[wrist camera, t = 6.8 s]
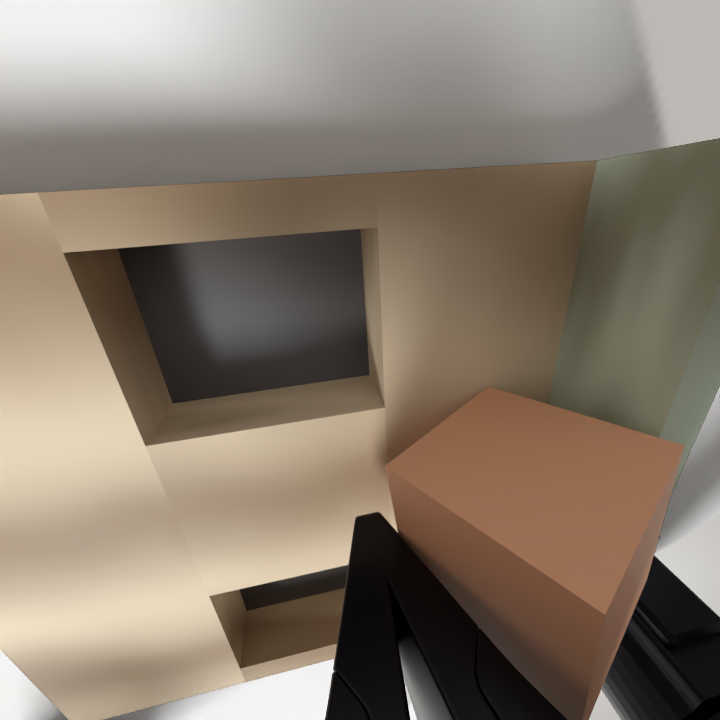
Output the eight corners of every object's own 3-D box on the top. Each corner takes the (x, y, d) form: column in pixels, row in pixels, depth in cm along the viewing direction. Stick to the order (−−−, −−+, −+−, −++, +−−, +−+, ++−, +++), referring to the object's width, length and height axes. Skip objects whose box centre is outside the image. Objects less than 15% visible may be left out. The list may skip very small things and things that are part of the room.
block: (490, 491, 11) (647, 578, 8) (407, 581, 9) (576, 748, 6) (488, 386, 9) (685, 446, 6) (385, 465, 7) (605, 616, 4)
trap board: (496, 556, 17) (580, 698, 12) (108, 648, 14) (11, 877, 9) (558, 171, 9) (837, 125, 5) (-198, 217, 7) (-1324, 222, 2)
